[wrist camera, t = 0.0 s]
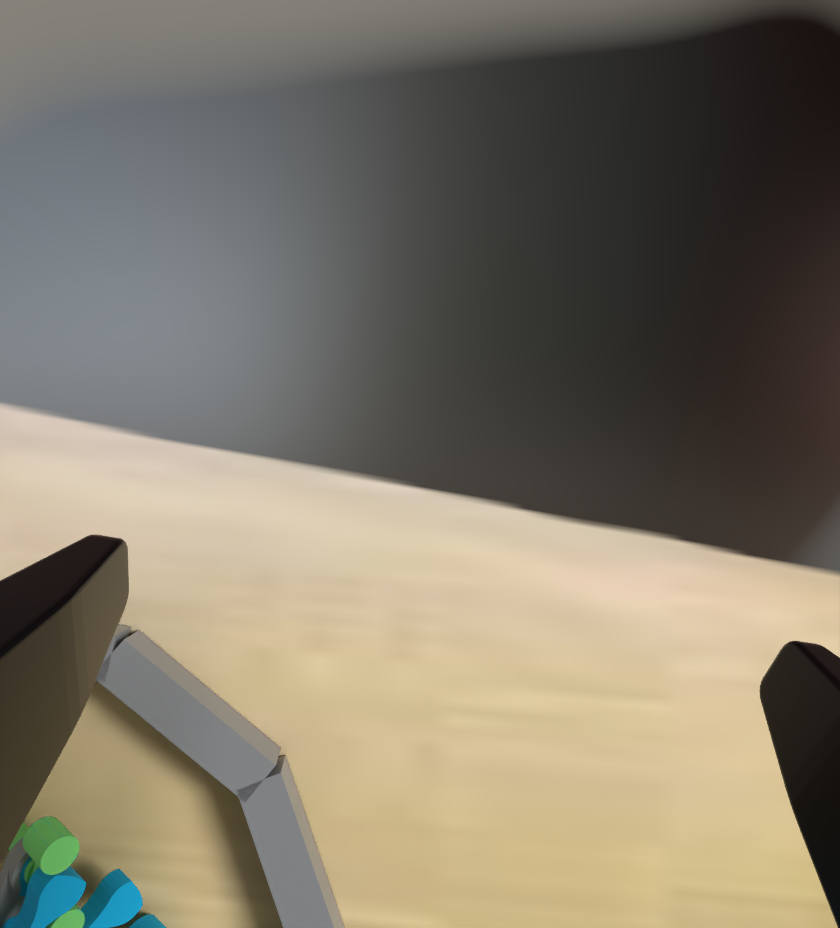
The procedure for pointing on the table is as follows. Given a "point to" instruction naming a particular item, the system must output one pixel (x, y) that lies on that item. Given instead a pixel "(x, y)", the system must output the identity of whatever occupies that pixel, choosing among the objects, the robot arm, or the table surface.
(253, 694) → the table surface
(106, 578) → the robot arm
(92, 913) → the blue spiky figure
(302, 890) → the ring
